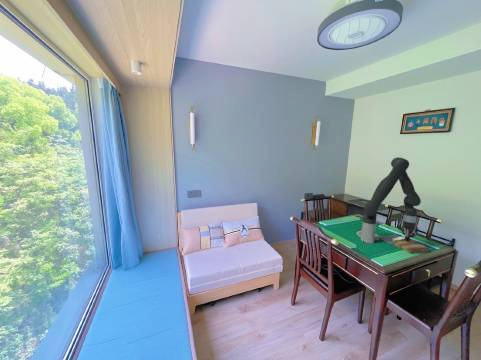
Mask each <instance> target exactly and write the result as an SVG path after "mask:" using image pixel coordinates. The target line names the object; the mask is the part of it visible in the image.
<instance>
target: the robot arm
mask: <svg viewBox="0 0 481 360" xmlns="http://www.w3.org/2000/svg"><path fill="white" fill-rule="evenodd" d="M390 166H391V167H392V169H391V171H390V172H389V173H388V175H387V176H385V178H383V179H382V180H381V181H380V182H379V183H378V185H377V186H376V188H375V190H374V192H373V194H372V197H371V199H370V200H369V202H367V204H365V205H364V206H363V214H362V215H363V217H362V225H361V226H362V227H361V229H360V240H361V241H362V242H363V241H364V242H363V243H365V242H366V244H374V243H375V235H376V224H377V217H378V216H377V215H378V214H377V213H378V210H379V207H380V206H381V204H382V203H383V201H384V200H385V199H386V198H387V197H388V196H389V194H390V193H391V191H392V190H393V189H394V188H395V185H396V184H397V183H398V182H399V184H400V187H401V189H402V193H403V194H404V196H405V197H404V198H403V206H404V215H403V220H402V225H403V226H400V227H399V228H400V231H401V233H402V235H404V236H405V241H410V239H411V238H414V237H415V236H417V235H418V233H417V232H416V229H415V228H416V224H417V216H418V215H417V213H418V210H417V208H415V207H418V206H420V205H421V202H422V201H421V198H420V196H419V194H418V193H417V192H416V190H415V187H414V184H413V182H412V180H411V178H410V176H409V174H408V173H407V170H408V168H409V167H410V162H409V160H408V159H406V158H404V157H400V156H399V157H395V158H393V159H391V161H390Z"/></svg>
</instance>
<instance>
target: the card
mask: <svg viewBox="0 0 481 360" xmlns="http://www.w3.org/2000/svg"><path fill="white" fill-rule="evenodd" d="M395 240H405V235H404V236H400V237H398V238H393V241H395Z"/></svg>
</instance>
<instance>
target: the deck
mask: <svg viewBox="0 0 481 360" xmlns="http://www.w3.org/2000/svg"><path fill="white" fill-rule="evenodd" d="M394 246H396V247H397V248H399V249H401V250H403V251H405V252H407V253H408V254H424V253H428V252H429V247H428V246H425V245H423V244H422V243H419V242H417V241H415V240H413V239H411V238H410V241H405V240H395V243H394Z"/></svg>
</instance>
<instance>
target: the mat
mask: <svg viewBox="0 0 481 360" xmlns="http://www.w3.org/2000/svg"><path fill="white" fill-rule="evenodd" d="M376 237H377V238H379V239H380V240H382V241H384V242H385V243H387V244H389V245H393V244H394V243H395V241H393V238H398V237H401V236H400V235H398V234H395V235H394V234H391V235H390V234H388V235H376Z"/></svg>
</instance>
